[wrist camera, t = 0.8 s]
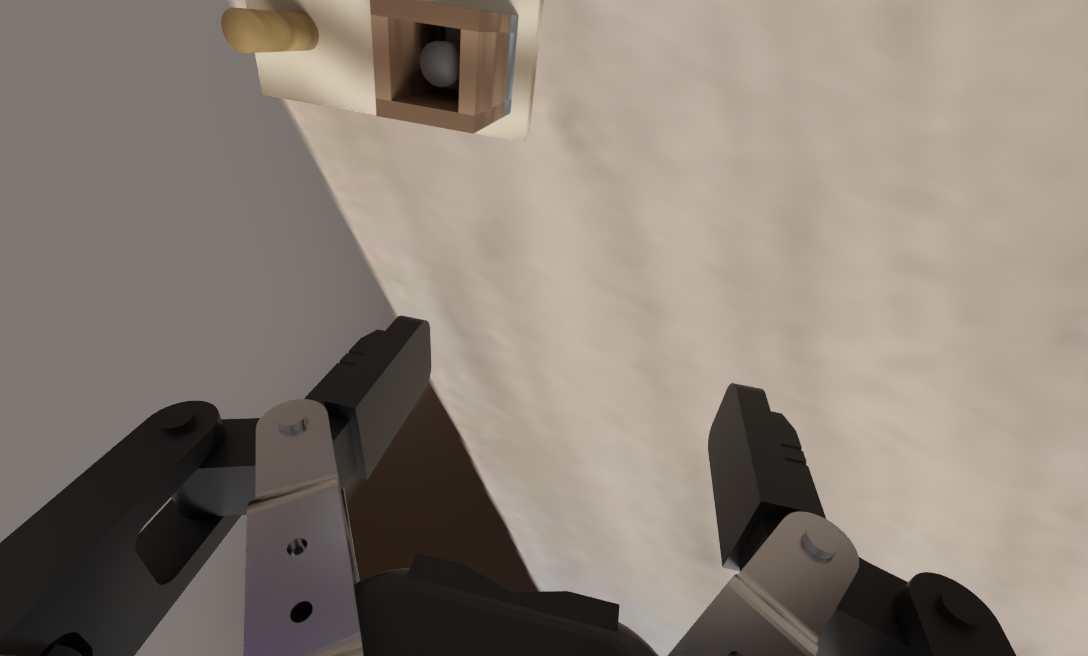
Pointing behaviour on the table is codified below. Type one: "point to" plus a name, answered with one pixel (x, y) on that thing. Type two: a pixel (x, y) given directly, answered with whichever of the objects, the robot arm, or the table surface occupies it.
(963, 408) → the table surface
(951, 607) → the robot arm
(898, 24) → the table surface
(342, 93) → the pin board
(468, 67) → the wooden pen holder
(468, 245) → the table surface
